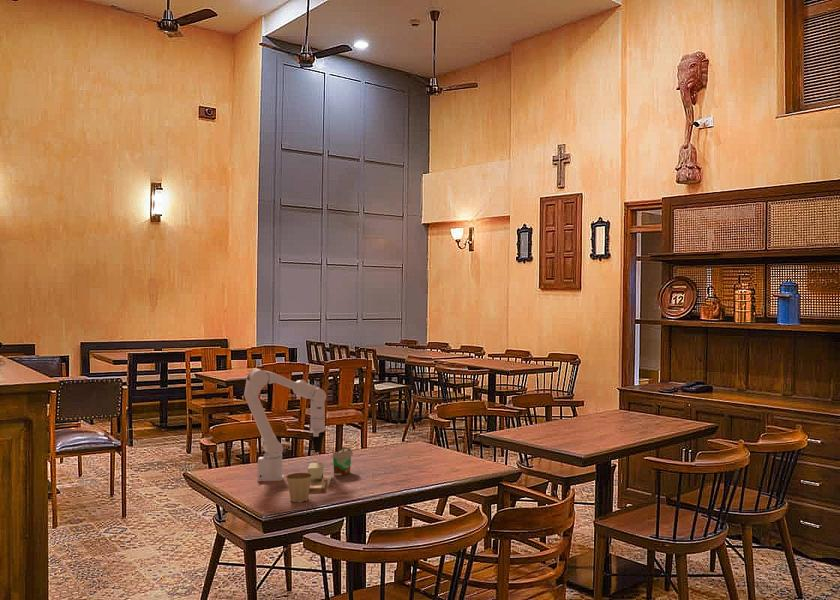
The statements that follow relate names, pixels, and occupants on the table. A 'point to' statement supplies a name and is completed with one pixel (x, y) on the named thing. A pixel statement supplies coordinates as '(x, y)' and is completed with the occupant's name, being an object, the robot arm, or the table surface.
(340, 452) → the food container
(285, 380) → the robot arm
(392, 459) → the table surface
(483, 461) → the table surface
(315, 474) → the cream rectangular block
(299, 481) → the flower pot
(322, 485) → the dock board
